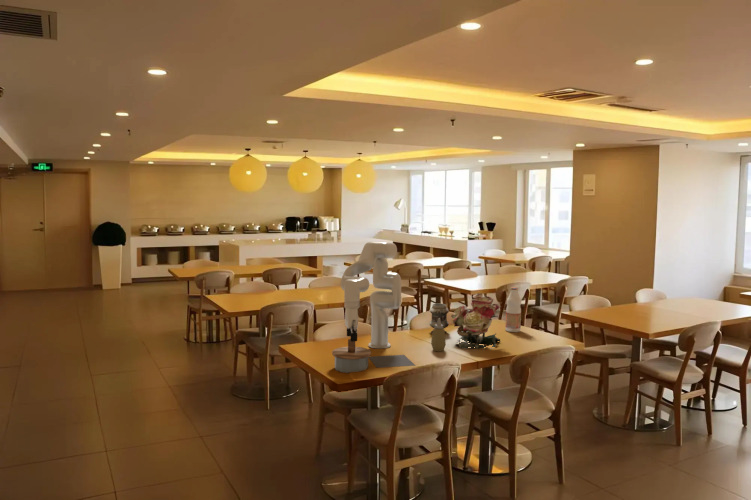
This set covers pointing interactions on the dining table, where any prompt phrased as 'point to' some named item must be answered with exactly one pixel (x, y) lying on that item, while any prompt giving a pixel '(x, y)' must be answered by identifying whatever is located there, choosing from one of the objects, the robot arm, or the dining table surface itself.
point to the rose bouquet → (476, 322)
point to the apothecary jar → (439, 315)
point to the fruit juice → (513, 311)
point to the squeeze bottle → (438, 337)
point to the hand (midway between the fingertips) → (351, 338)
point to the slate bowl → (351, 365)
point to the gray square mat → (391, 361)
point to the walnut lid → (351, 352)
